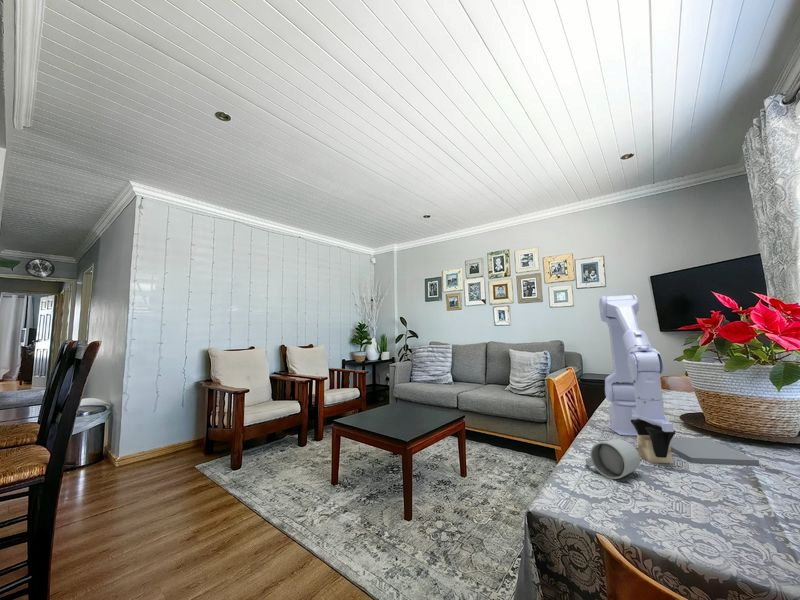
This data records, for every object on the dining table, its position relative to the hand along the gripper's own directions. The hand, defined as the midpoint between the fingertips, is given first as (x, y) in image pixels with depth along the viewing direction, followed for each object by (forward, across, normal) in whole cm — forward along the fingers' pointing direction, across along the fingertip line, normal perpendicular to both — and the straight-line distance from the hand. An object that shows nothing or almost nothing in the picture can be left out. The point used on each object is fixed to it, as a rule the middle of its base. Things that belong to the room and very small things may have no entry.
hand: (654, 452), depth 82 cm
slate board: (+1, -6, +14) cm, 15 cm away
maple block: (+1, 0, 0) cm, 1 cm away
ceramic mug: (+2, +10, -14) cm, 17 cm away
